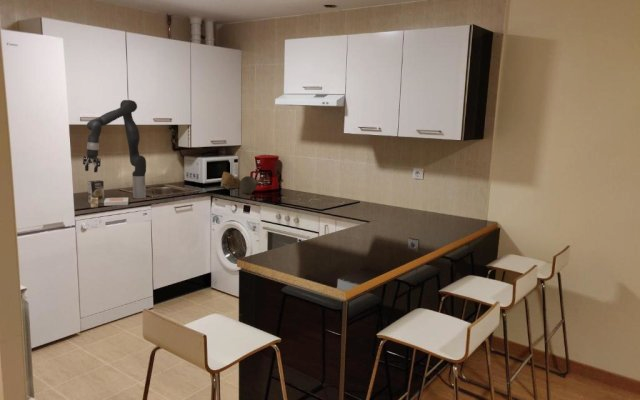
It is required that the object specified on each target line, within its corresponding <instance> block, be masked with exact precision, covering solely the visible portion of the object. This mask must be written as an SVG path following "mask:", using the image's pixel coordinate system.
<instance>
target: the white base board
mask: <svg viewBox="0 0 640 400" xmlns="http://www.w3.org/2000/svg"><path fill="white" fill-rule="evenodd" d="M103 205H104V206H128V205H129V197H128V196H127V197H104V203H103Z"/></svg>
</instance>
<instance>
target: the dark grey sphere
mask: <svg viewBox="0 0 640 400" xmlns="http://www.w3.org/2000/svg"><path fill="white" fill-rule="evenodd" d="M257 185H258V182H257V180H256V179H255V178H254V177H252V176H247V175H246V176H243V178H241V180H240V185H239V189H240V192H241V193H243V194H245V195H248V194H249V195H250V194H252V193H253V192H255V190H256V188H257Z"/></svg>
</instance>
